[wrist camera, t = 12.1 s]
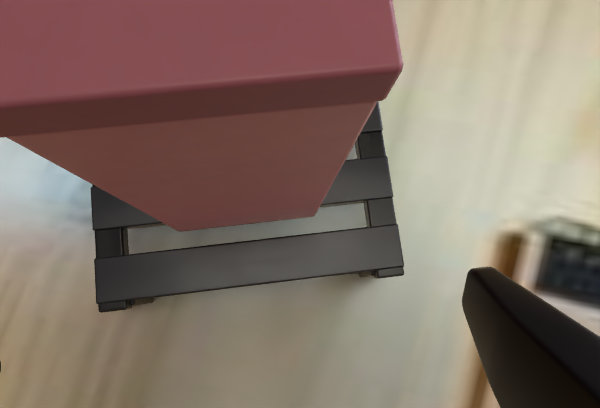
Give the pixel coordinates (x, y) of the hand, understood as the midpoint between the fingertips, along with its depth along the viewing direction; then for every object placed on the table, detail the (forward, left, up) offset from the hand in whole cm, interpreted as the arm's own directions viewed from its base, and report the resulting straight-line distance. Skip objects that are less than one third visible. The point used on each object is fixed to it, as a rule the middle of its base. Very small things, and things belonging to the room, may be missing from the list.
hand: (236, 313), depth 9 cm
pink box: (+5, +1, -8) cm, 9 cm away
